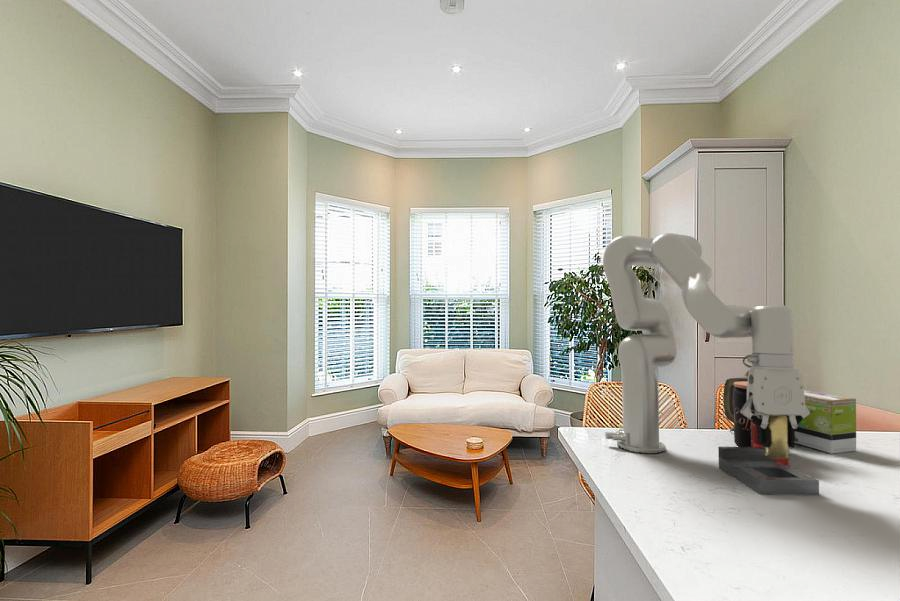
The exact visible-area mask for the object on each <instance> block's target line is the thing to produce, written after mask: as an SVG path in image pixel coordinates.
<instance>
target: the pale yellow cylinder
mask: <svg viewBox="0 0 900 601" xmlns="http://www.w3.org/2000/svg"><path fill="white" fill-rule="evenodd" d="M767 428H768V429H769V430H770V447H764V455H765V456H768V457H771V458H777V459H788V458H789V459H790V447H789V445H788V419H787V415H769V418H768V423H767Z"/></svg>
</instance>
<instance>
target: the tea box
mask: <svg viewBox="0 0 900 601" xmlns="http://www.w3.org/2000/svg"><path fill="white" fill-rule="evenodd" d="M804 396H805V406H806V407H807V409H808V410H809V411H810V414H809V415H808V416H806V417H805V418H803V419H802V421H801V422H800V423H799V424H798V425H797V426H798V427H797V428H796V429H795V442H794V444H798V445H801V446H804V447H808V448H812V449H815V450H817V451H821V452H824V453H828V454H830V455H832V454H842V453H850V452H854V451H857V399H856V398H855V397H847V396H844V395H843V396H841V395H835V394H831V393H826V392H825V393H824V392H818V391H813V390H812V391H811V390H809V389H808V390H806V389H804Z"/></svg>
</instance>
